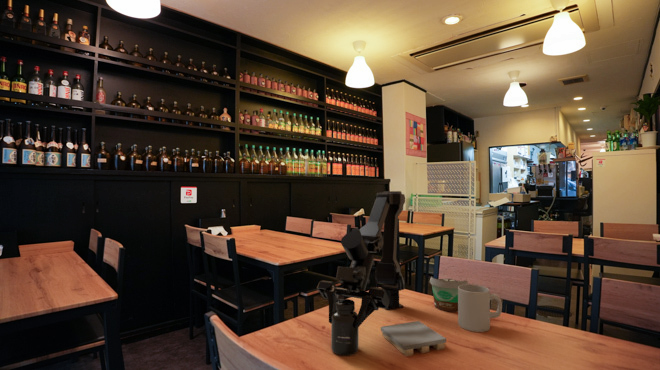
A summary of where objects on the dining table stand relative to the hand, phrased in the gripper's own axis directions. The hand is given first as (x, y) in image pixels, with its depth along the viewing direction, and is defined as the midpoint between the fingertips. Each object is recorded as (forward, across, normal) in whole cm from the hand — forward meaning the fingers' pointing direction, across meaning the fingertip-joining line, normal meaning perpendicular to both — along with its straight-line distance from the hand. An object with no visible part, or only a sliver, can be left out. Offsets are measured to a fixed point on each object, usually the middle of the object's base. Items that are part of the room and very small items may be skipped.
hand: (342, 325), depth 82 cm
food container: (-25, +18, +34) cm, 46 cm away
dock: (-5, +14, +14) cm, 20 cm away
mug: (-18, +29, +28) cm, 44 cm away
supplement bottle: (+4, 0, +6) cm, 7 cm away
